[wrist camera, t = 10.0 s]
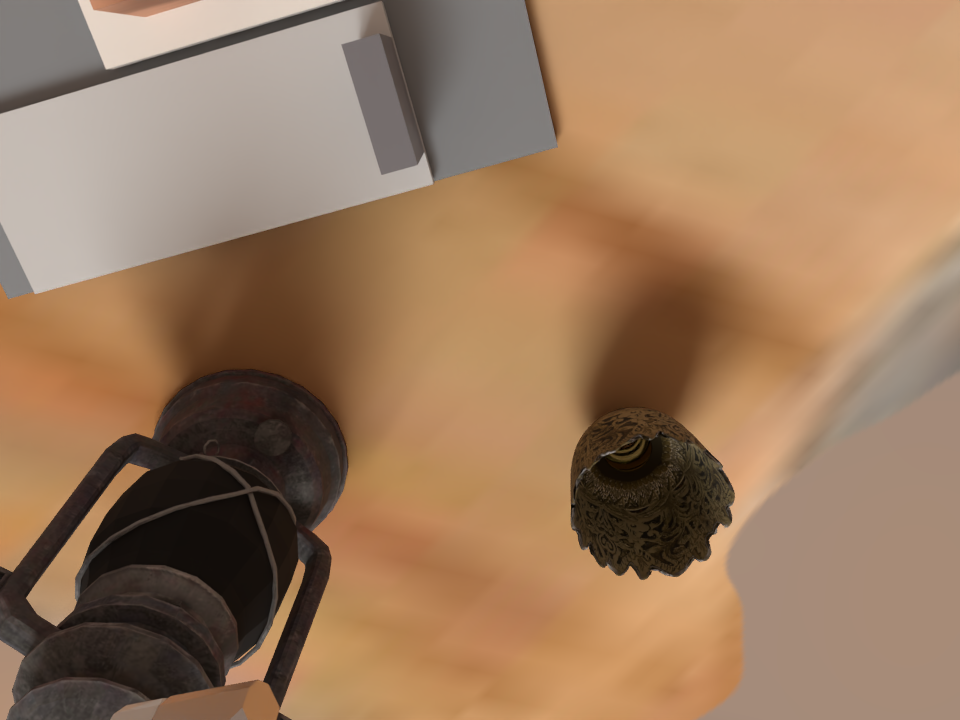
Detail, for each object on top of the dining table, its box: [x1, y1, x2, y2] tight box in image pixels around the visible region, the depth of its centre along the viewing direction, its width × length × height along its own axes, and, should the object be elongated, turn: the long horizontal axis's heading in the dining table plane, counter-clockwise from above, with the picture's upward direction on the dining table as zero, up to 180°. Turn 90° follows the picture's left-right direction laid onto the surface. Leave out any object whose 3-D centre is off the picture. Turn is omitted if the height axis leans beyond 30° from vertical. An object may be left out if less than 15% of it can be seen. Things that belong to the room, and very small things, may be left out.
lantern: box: [0, 369, 348, 720], centre depth 30 cm, size 12×11×30 cm
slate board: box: [0, 0, 558, 299], centre depth 36 cm, size 28×17×1 cm, turn 105°
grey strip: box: [0, 1, 434, 294], centre depth 34 cm, size 20×8×6 cm, turn 105°
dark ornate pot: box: [571, 407, 735, 580], centre depth 40 cm, size 8×7×8 cm
